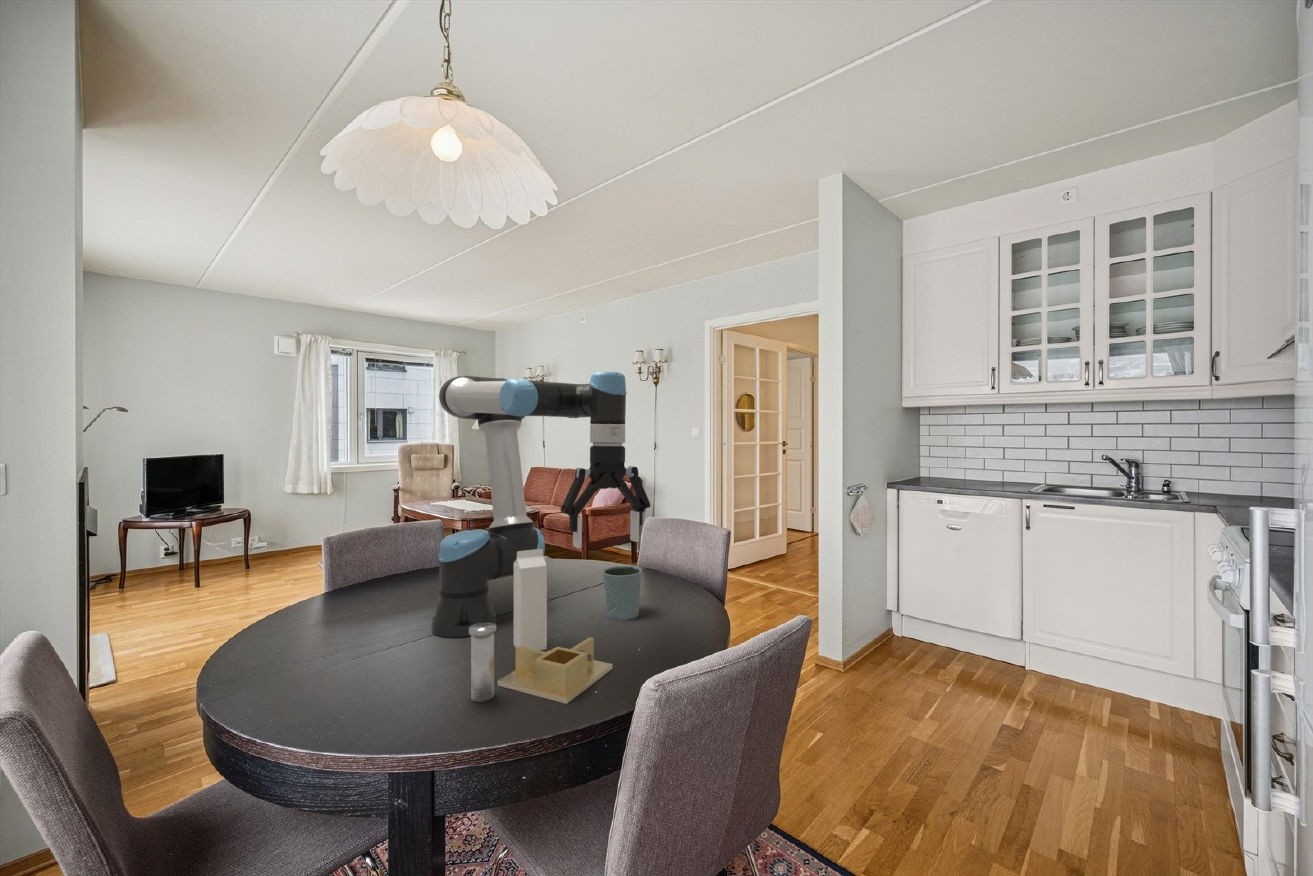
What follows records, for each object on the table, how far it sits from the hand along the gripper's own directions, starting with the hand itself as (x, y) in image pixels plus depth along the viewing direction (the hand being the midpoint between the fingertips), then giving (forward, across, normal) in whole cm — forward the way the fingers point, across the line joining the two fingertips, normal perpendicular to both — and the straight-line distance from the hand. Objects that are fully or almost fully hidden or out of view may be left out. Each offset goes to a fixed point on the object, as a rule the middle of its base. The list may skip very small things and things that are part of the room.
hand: (606, 544), depth 115 cm
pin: (+25, -27, -3) cm, 37 cm away
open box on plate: (+25, -12, -3) cm, 28 cm away
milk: (+25, -12, +14) cm, 31 cm away
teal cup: (+25, +16, +23) cm, 37 cm away
